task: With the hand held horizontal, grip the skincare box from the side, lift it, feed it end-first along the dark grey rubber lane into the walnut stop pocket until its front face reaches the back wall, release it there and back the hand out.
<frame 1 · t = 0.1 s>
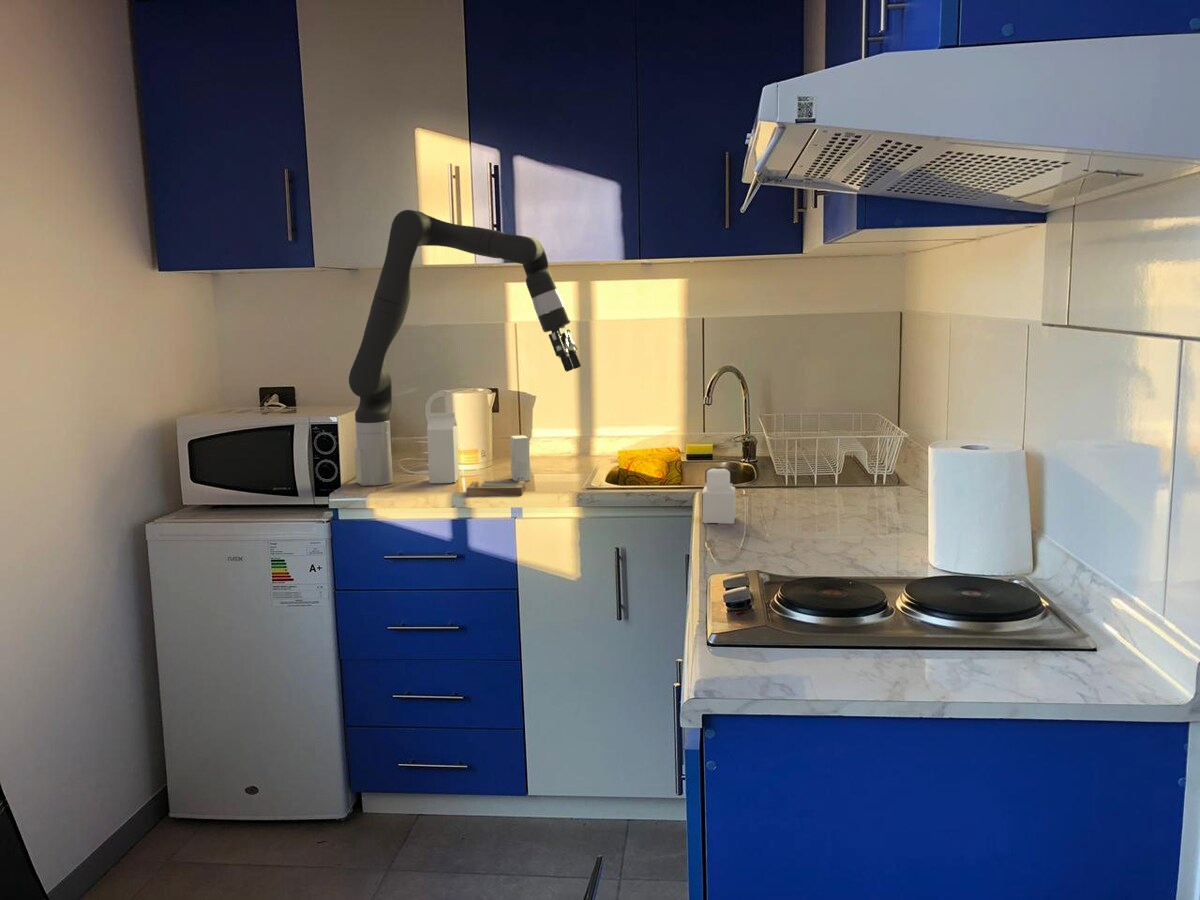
hand: (573, 369, 272), 31 cm above the worktop, tool tilted 20°, fingers open, 8 cm apart
milk carton: (444, 482, 290), on the worktop
medicine bottle: (718, 521, 236), on the worktop
skincare box: (520, 480, 291), on the worktop
stop dock: (496, 492, 272), on the worktop
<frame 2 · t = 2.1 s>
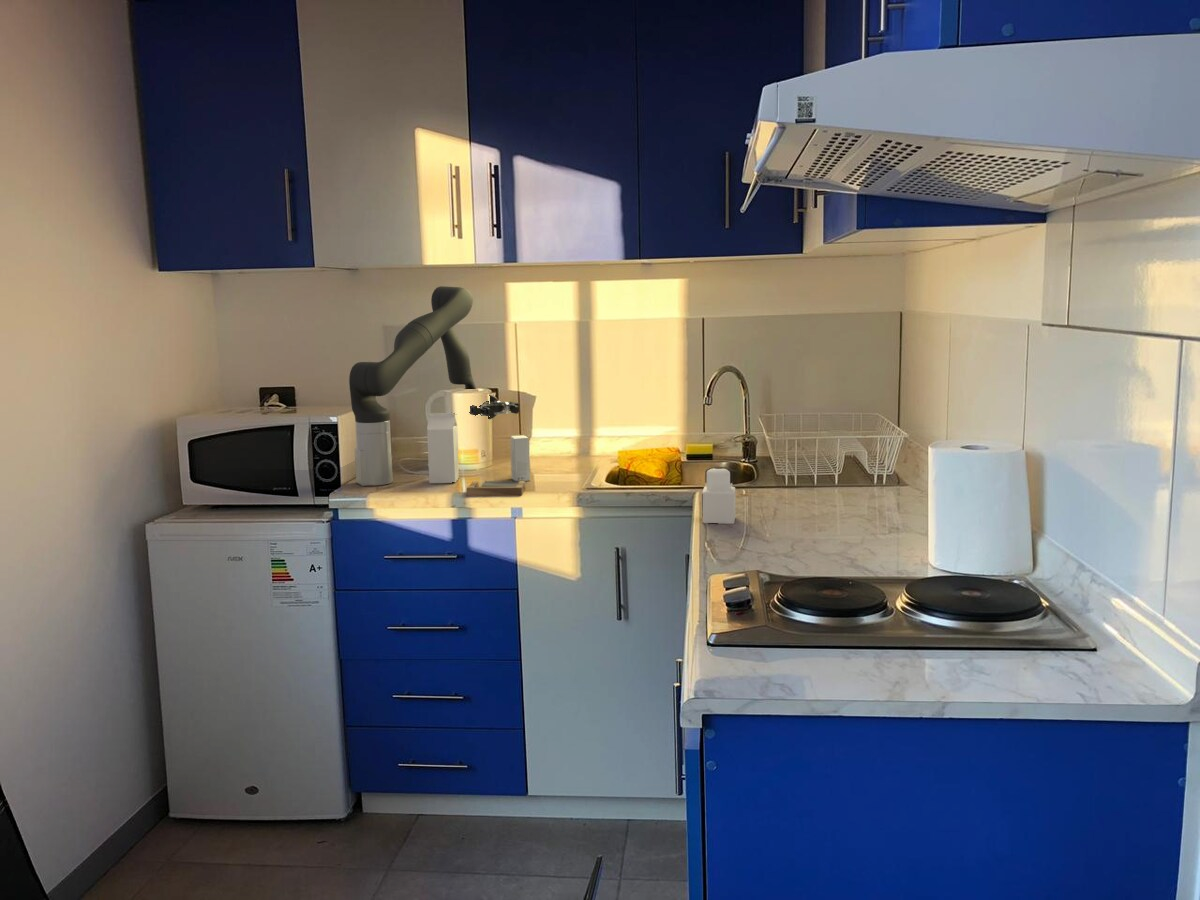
hand: (503, 411, 297), 18 cm above the worktop, tool horizontal, fingers open, 8 cm apart
nothing on the worktop moved.
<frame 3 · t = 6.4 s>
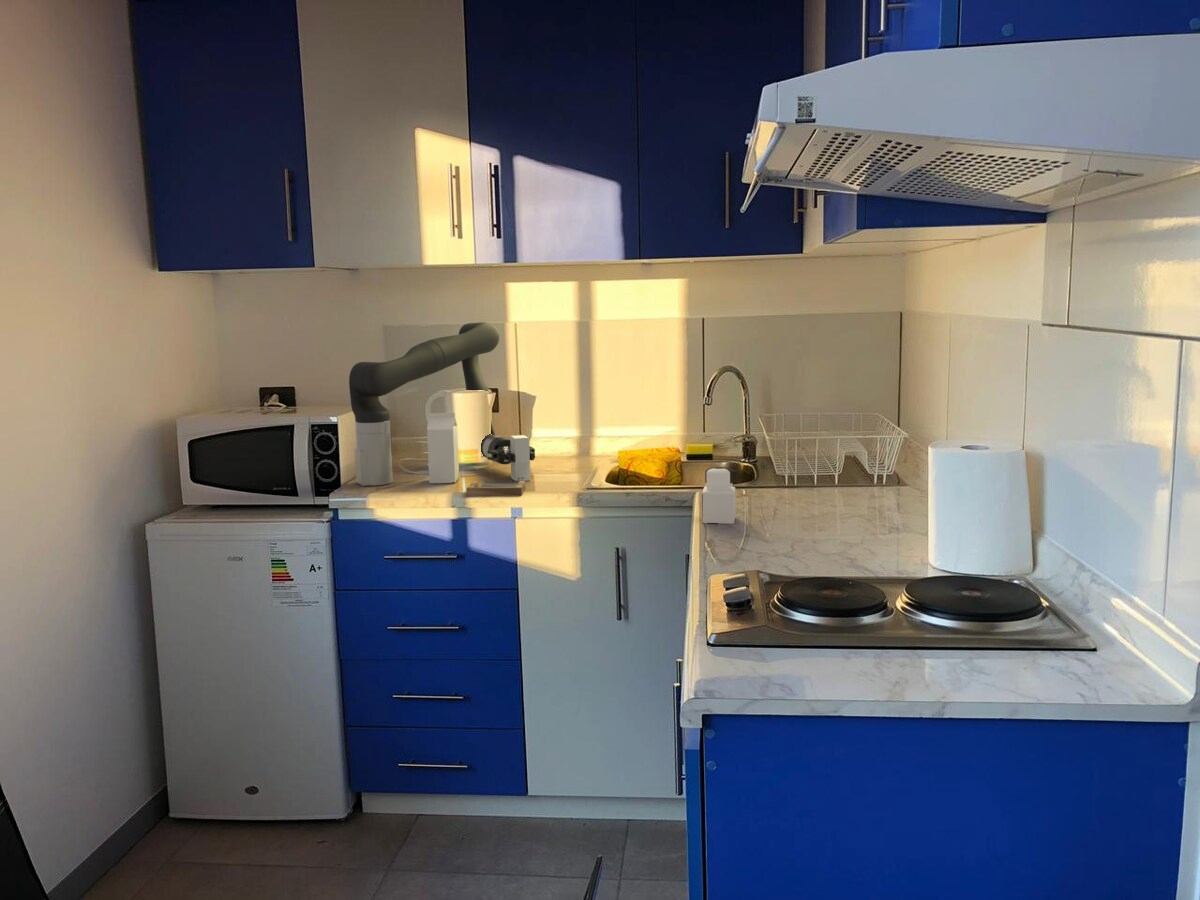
hand: (523, 457, 287), 7 cm above the worktop, tool horizontal, fingers closed on skincare box, 5 cm apart
skincare box: (520, 480, 291), on the worktop, touching gripper
everything else where it was.
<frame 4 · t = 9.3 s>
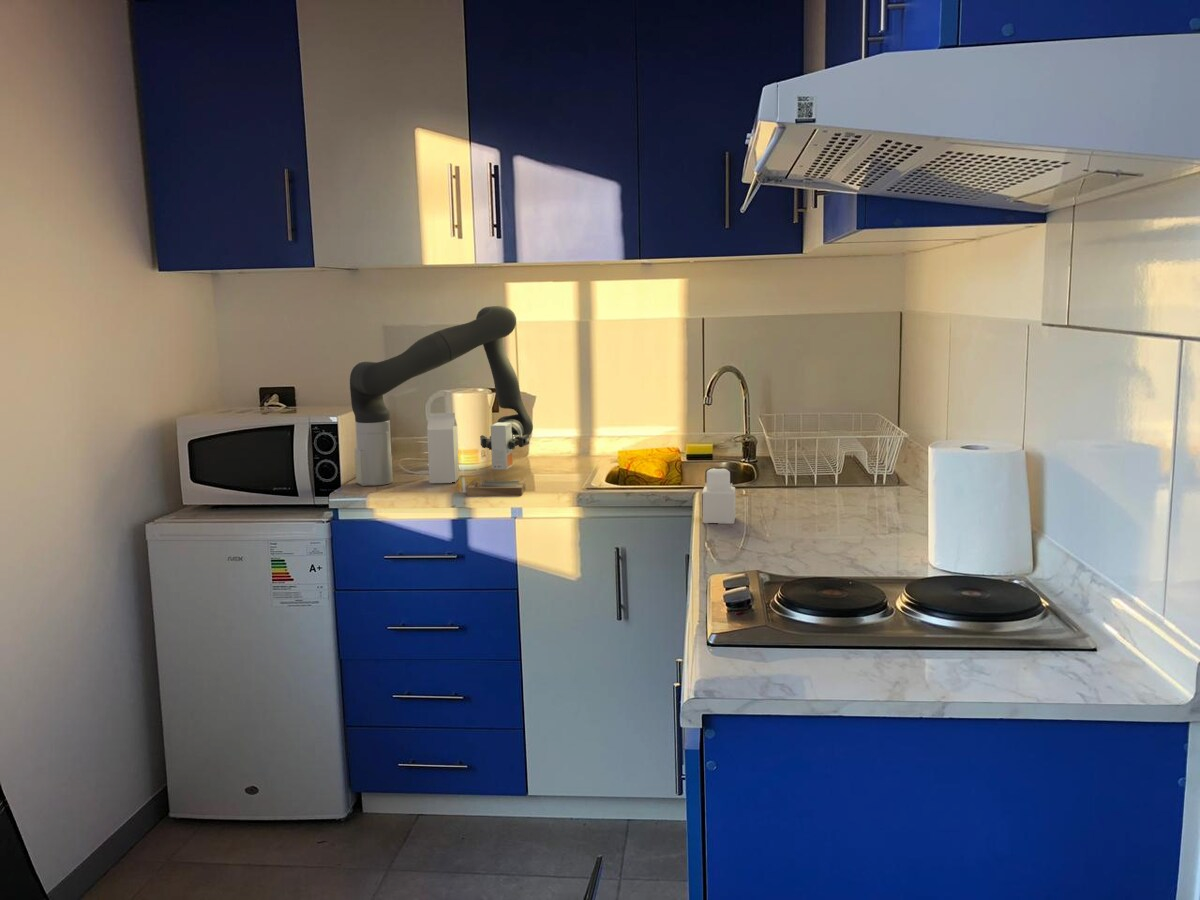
hand: (500, 445, 279), 11 cm above the worktop, tool horizontal, fingers closed on skincare box, 5 cm apart
skincare box: (502, 468, 283), point 4 cm above the worktop, touching gripper
everything else where it was.
when the fingers open (8 cm above the worktop, at t = 12.5 s): skincare box stays where it is, resting on stop dock.
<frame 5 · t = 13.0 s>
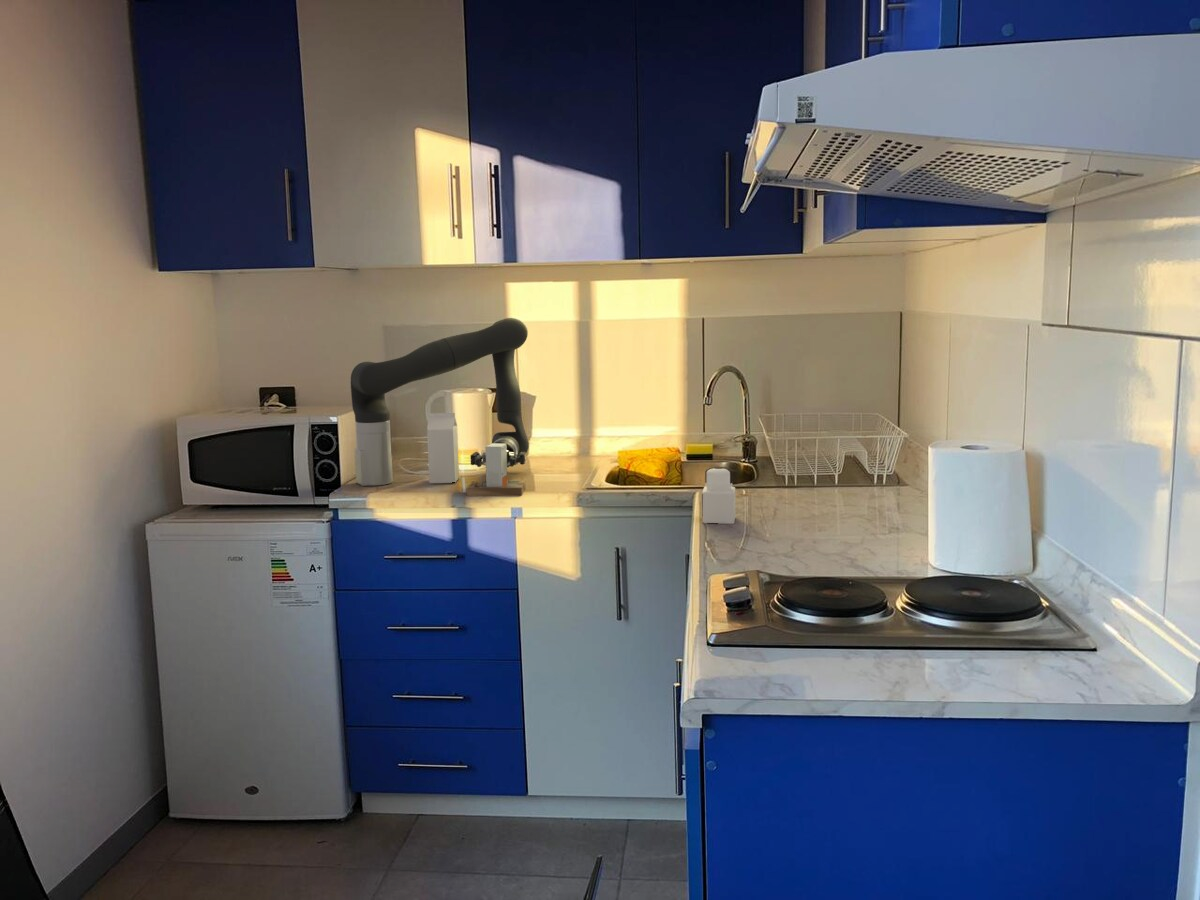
hand: (495, 462, 270), 8 cm above the worktop, tool horizontal, fingers open, 8 cm apart
skincare box: (497, 491, 274), resting on stop dock
everything else where it was.
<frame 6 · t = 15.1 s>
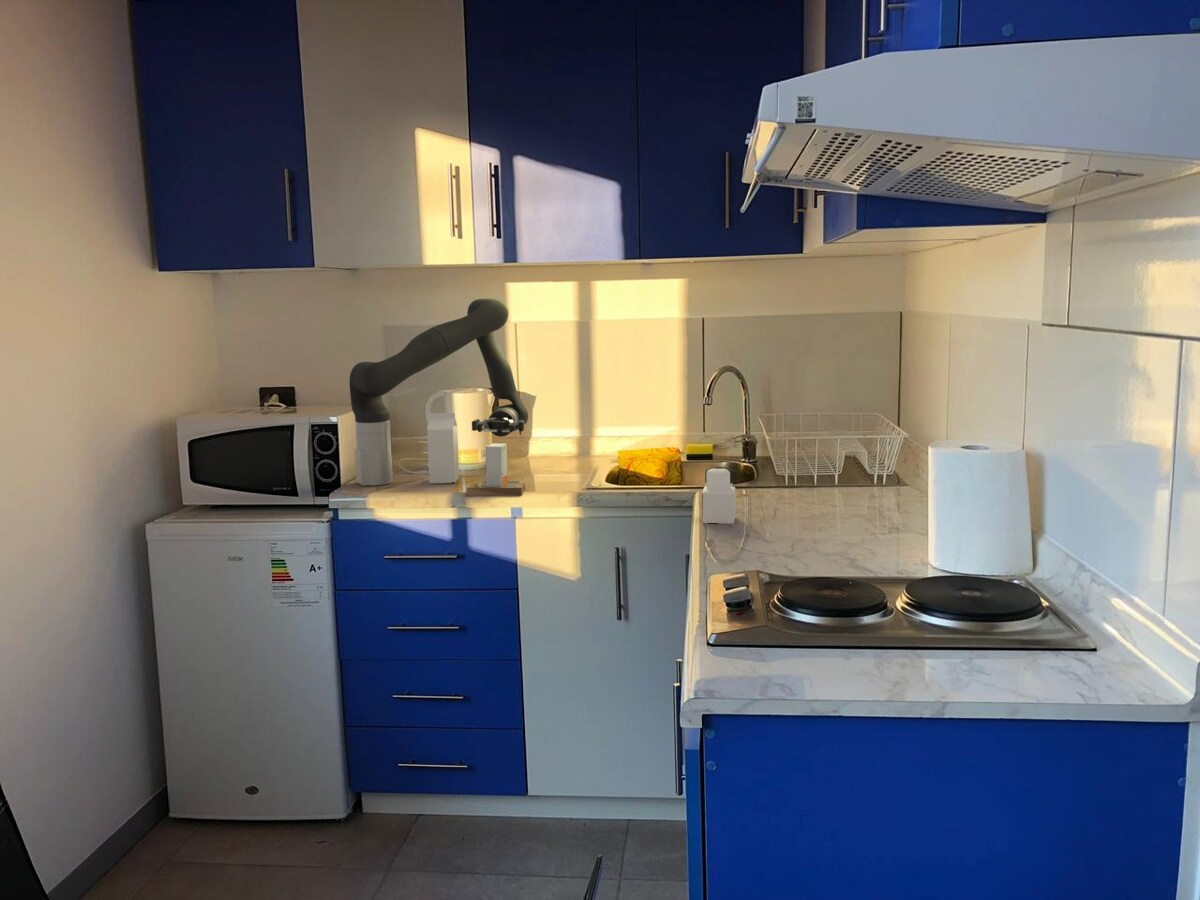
hand: (494, 428, 284), 15 cm above the worktop, tool horizontal, fingers open, 8 cm apart
nothing on the worktop moved.
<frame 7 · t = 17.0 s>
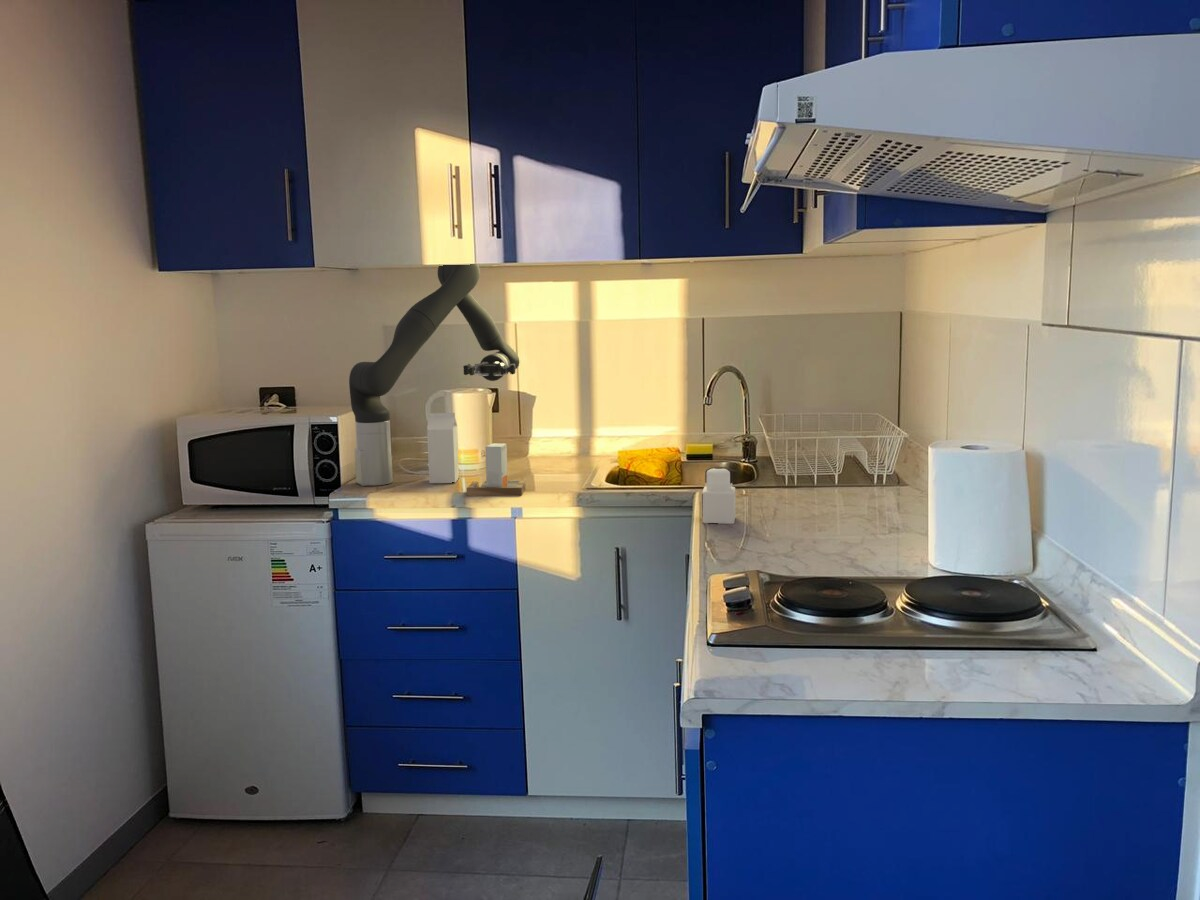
hand: (486, 371, 288), 30 cm above the worktop, tool horizontal, fingers open, 8 cm apart
nothing on the worktop moved.
at the end: skincare box 0.2 cm off-centre on the stop dock, point 0.2 cm above the stop dock's base; skincare box tilted 0°; the gripper is holding nothing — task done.
